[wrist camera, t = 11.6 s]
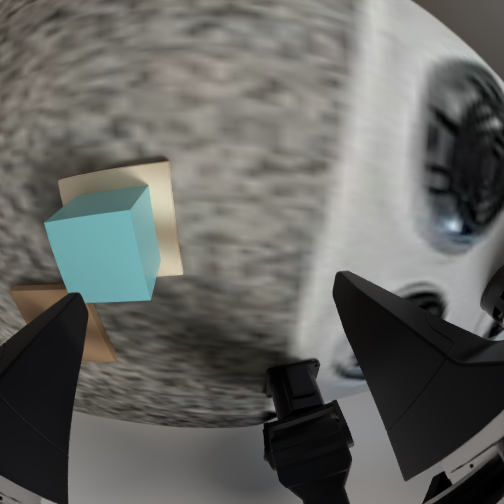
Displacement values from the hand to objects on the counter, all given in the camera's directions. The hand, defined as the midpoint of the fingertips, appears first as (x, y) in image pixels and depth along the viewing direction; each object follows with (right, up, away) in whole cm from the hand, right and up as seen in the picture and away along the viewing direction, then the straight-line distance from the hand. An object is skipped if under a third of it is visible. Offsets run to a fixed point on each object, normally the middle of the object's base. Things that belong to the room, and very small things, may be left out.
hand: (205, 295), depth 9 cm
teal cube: (-9, +3, +10) cm, 14 cm away
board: (-9, +3, +11) cm, 14 cm away
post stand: (-18, -6, +14) cm, 24 cm away
